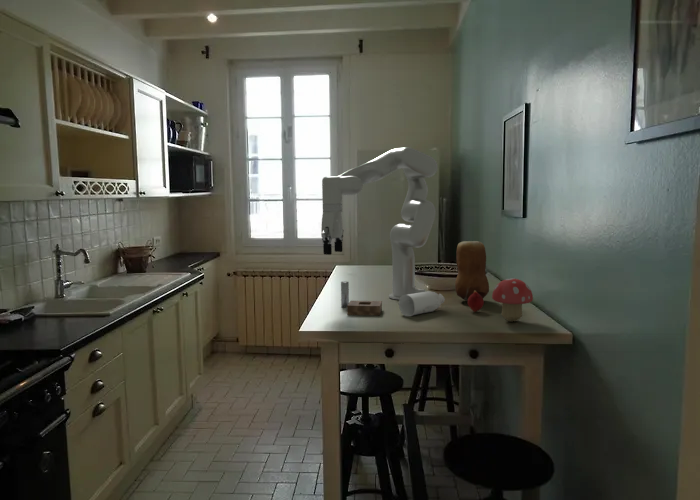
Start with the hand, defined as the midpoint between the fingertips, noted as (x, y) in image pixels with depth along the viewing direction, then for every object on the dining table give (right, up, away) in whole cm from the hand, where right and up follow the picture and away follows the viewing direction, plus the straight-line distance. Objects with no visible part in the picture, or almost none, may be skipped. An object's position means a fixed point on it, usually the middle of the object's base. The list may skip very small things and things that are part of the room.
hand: (333, 253), depth 202 cm
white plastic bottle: (+33, -23, -7) cm, 41 cm away
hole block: (+12, -22, -6) cm, 26 cm away
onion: (+53, -22, -7) cm, 58 cm away
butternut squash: (+56, -20, +12) cm, 61 cm away
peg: (+5, -21, +4) cm, 22 cm away
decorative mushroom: (+62, -24, -23) cm, 70 cm away
